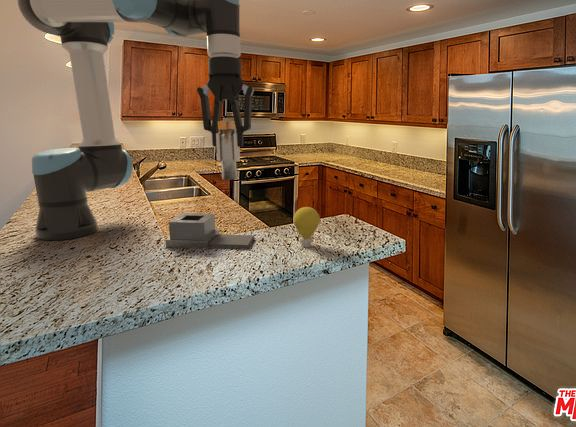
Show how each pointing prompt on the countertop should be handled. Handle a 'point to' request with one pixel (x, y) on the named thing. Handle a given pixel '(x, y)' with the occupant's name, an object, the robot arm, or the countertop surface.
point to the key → (227, 149)
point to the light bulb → (306, 224)
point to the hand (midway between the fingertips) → (228, 160)
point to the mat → (232, 241)
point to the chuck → (192, 231)
